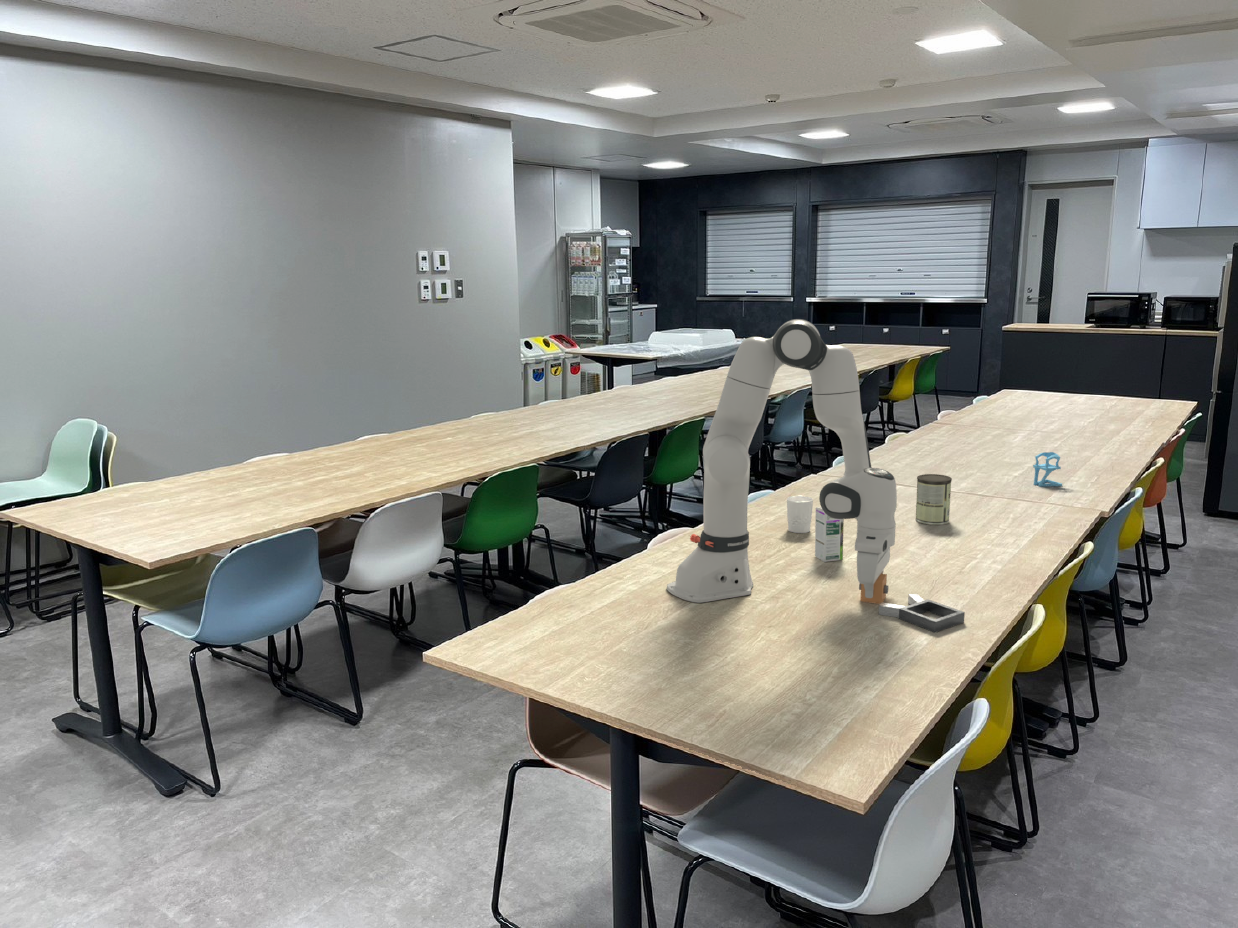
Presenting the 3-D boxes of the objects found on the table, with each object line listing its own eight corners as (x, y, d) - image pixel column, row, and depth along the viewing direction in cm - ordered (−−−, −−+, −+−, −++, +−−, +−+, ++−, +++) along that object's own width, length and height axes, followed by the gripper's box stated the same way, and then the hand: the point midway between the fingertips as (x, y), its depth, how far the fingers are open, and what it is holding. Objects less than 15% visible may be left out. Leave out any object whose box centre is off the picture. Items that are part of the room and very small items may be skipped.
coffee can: (911, 516, 291) (913, 473, 288) (944, 516, 290) (947, 473, 287) (919, 525, 281) (921, 481, 278) (953, 525, 280) (955, 481, 277)
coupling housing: (929, 634, 197) (930, 623, 197) (874, 613, 210) (875, 602, 210) (968, 620, 205) (969, 610, 204) (913, 601, 217) (913, 591, 217)
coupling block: (885, 604, 216) (886, 581, 214) (857, 600, 218) (858, 577, 217) (889, 598, 220) (890, 574, 219) (861, 594, 223) (862, 571, 222)
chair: (1028, 483, 332) (1030, 451, 329) (1046, 481, 334) (1049, 449, 332) (1043, 488, 325) (1046, 455, 322) (1062, 486, 327) (1065, 453, 325)
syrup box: (824, 562, 247) (825, 511, 244) (814, 556, 253) (815, 506, 250) (843, 560, 249) (844, 509, 246) (832, 554, 254) (834, 504, 251)
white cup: (808, 526, 282) (809, 495, 280) (815, 533, 274) (815, 501, 272) (783, 527, 282) (784, 496, 280) (789, 534, 274) (789, 502, 272)
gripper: (871, 523, 226) (869, 576, 229) (852, 545, 209) (850, 602, 211) (897, 526, 223) (895, 579, 226) (880, 549, 206) (878, 606, 209)
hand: (873, 590), depth 219 cm, fingers open, 8 cm apart
